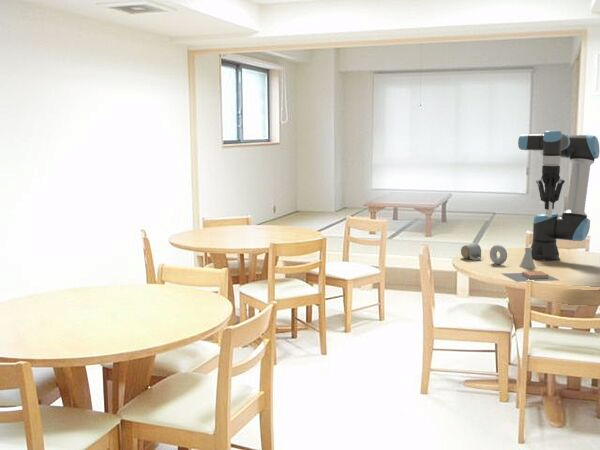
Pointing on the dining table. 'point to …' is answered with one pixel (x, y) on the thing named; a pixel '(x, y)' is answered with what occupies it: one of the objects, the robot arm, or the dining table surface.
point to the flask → (527, 259)
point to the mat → (520, 278)
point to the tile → (535, 274)
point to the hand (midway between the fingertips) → (548, 216)
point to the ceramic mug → (471, 252)
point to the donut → (494, 254)
